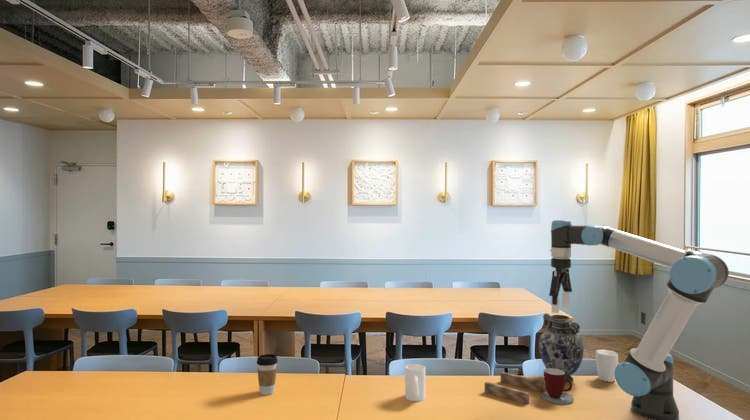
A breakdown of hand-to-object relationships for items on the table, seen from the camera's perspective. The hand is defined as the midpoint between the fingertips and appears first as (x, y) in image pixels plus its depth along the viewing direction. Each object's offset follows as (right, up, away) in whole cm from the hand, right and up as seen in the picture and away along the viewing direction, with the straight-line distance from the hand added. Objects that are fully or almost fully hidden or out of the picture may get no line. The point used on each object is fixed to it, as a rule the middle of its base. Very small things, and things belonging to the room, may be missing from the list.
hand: (560, 310), depth 184 cm
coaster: (-3, -35, -3) cm, 35 cm away
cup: (+28, -35, +18) cm, 48 cm away
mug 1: (-60, -35, -5) cm, 70 cm away
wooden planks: (-18, -35, +3) cm, 39 cm away
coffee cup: (-120, -34, +1) cm, 125 cm away
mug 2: (-3, -34, -3) cm, 35 cm away
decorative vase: (+7, -35, +18) cm, 40 cm away
